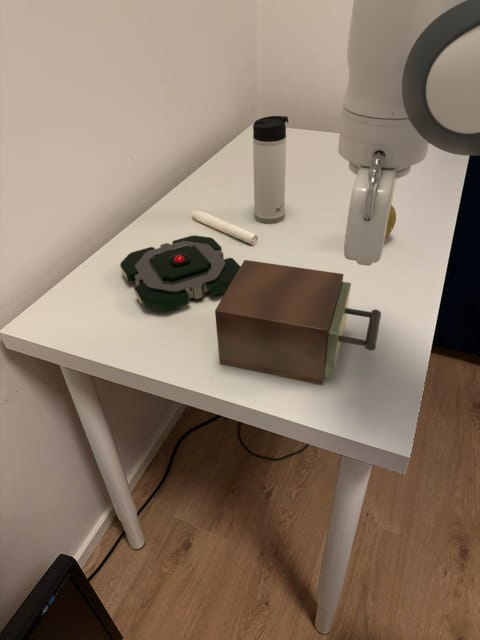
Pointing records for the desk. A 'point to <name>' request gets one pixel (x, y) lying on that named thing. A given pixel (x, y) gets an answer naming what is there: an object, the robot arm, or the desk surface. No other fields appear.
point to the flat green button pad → (179, 272)
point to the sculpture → (391, 221)
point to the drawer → (339, 326)
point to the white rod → (225, 227)
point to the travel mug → (269, 168)
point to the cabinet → (277, 320)
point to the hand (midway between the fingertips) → (366, 253)
